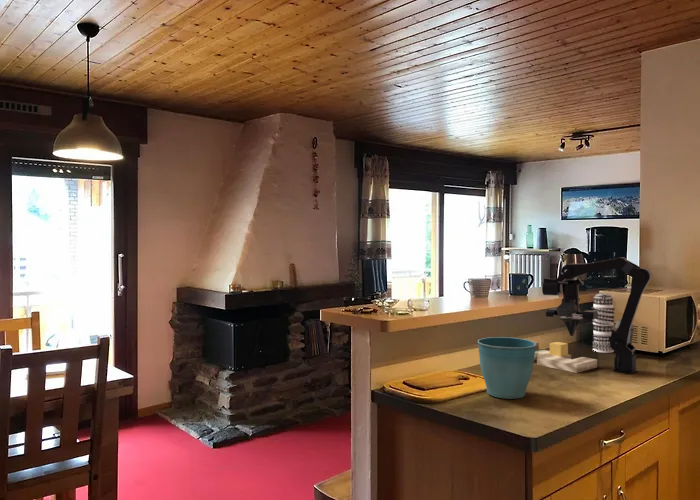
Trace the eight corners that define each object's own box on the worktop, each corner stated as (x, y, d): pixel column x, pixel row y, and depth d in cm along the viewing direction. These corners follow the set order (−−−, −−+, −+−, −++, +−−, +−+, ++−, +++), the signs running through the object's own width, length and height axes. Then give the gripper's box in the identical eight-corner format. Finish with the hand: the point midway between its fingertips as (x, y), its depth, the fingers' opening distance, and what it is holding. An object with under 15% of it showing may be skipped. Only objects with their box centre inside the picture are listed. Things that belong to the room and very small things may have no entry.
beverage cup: (610, 355, 237) (610, 307, 237) (622, 353, 241) (623, 306, 240) (625, 358, 231) (625, 309, 230) (638, 356, 234) (638, 308, 233)
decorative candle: (602, 353, 240) (602, 295, 240) (587, 349, 249) (587, 293, 249) (619, 352, 243) (619, 294, 243) (603, 348, 252) (603, 292, 252)
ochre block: (567, 354, 225) (567, 343, 225) (560, 356, 222) (560, 345, 222) (556, 352, 229) (556, 341, 229) (549, 354, 226) (549, 343, 226)
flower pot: (525, 386, 189) (525, 336, 189) (544, 402, 171) (544, 347, 171) (472, 387, 189) (472, 337, 189) (485, 403, 171) (485, 347, 171)
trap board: (597, 367, 216) (597, 353, 216) (576, 372, 208) (576, 358, 207) (536, 355, 238) (536, 342, 237) (515, 360, 229) (515, 346, 229)
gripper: (538, 296, 220) (539, 336, 220) (587, 298, 207) (588, 341, 207) (550, 294, 228) (551, 332, 228) (598, 296, 215) (599, 336, 215)
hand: (571, 335), depth 220 cm, fingers closed
